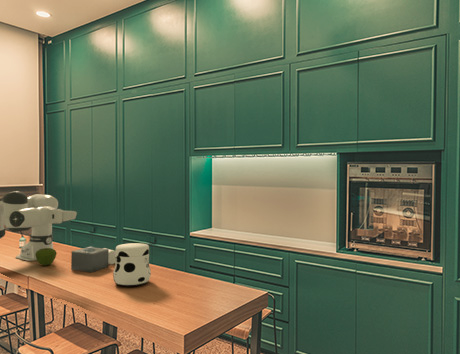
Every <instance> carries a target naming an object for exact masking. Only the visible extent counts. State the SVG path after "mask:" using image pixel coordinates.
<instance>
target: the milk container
mask: <svg viewBox="0 0 460 354" xmlns="http://www.w3.org/2000/svg"><path fill="white" fill-rule="evenodd" d="M115 251H116V256H115V259H116V263H114V269H113V272H112V273H113V274H112V276H113V278H112V279H113V281H114V284H116V285H118V286H120V287H121V286H122V287H137V286H141V285H145V284H146V283H148V282H149V281H150V279H151V275H152V273H151V268H150V267H151V266H150V246H149V244H146V243H142V242H141V243H139V242H138V243H135V242H134V243H124V244H119V245H116V247H115Z"/></svg>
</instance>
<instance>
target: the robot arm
mask: <svg viewBox="0 0 460 354" xmlns="http://www.w3.org/2000/svg"><path fill="white" fill-rule="evenodd" d="M58 207H59V201H58V199H57V198H56V197H54V196H52V195H50V194H40V193H37V194H36V193H35V194H33V195H30V196H28V195H26V193H24V192H23V191H18V190H16V191H11V192H8V193H6V194H4V195H3V196H1V197H0V239H2V238H4V237H5V235H6V230H8V231H9V232H12V233H18V232H24V231H29V230H31V235H29V236H28V237H27V238H28V239H29V240H28V242H26V243H25V244H24V245H23V246H22V247H21V248H20V254H18V255H16V256H15V258H16V259H18V260H23V261H27V262H30V261H31V262H32V261H37V259H36V256H35V254H36V252H37V251H38V250H40V249H44V248H52V249H54V243H53V239H54V238H53V237H54V236H53V233H52V232H53V224H62V223H63V222H68V221H73V220H75V219H76V218H77V217H76V216H77V214H78V212H77V211H75V210H63V209H61V208H58Z"/></svg>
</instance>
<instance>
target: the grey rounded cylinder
mask: <svg viewBox="0 0 460 354" xmlns="http://www.w3.org/2000/svg"><path fill="white" fill-rule="evenodd" d="M86 248H87V251H90V252H91V251H94V248H95V247H94V246H87V247H86Z"/></svg>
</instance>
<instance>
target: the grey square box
mask: <svg viewBox="0 0 460 354" xmlns="http://www.w3.org/2000/svg"><path fill="white" fill-rule="evenodd" d="M103 248H104V247H103ZM103 248H100V247H94V251H91V252H90V251H87V247H83V248H80V249H75V250H71V258H70V260H71V265H70V266H71V269H70V270H73V271H79V272H85V273H95V272H97V271H100V270H103V269H106V268H109V264H108V254H109V248H106V249H103Z"/></svg>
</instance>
